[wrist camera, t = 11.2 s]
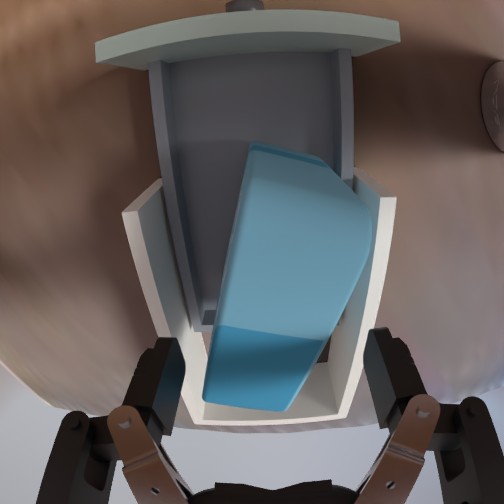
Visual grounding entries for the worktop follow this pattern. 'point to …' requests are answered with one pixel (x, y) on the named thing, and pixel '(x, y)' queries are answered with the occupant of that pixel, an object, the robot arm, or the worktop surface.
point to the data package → (283, 277)
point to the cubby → (191, 343)
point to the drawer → (241, 112)
